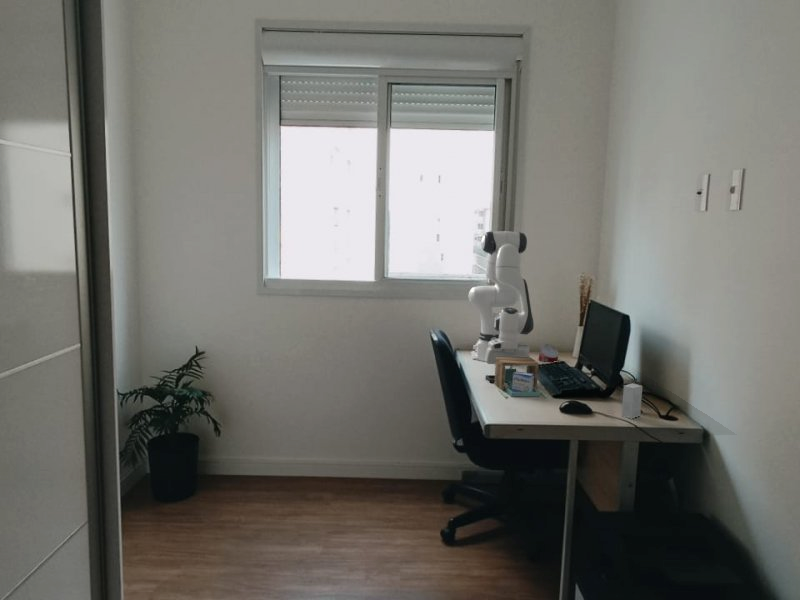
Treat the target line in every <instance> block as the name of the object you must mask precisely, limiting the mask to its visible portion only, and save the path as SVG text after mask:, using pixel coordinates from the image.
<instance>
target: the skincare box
mask: <svg viewBox="0 0 800 600" xmlns="http://www.w3.org/2000/svg"><path fill="white" fill-rule="evenodd" d="M642 395H643V385H641V384H638V383H637V384H636V383H628V384H625V385H623V393H622V405H621V406H622V407H621V417H622V416H625V417H628V418H634V419H636V418H635V417H637V418H639V417H638V416H640V417H641V413H642V412H641V408H642V397H643V396H642ZM625 417H624V418H625ZM628 418H627V419H628Z"/></svg>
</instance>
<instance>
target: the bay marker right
mask: <svg viewBox="0 0 800 600" xmlns="http://www.w3.org/2000/svg"><path fill="white" fill-rule="evenodd" d="M537 390H538V391H539V392H540V395H542V396H543V397H544V398H545V399H548V398H549V396H548V395H547V394H546V393H545V391H543V390H541V389H540V388H537Z"/></svg>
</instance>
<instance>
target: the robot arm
mask: <svg viewBox="0 0 800 600" xmlns="http://www.w3.org/2000/svg"><path fill="white" fill-rule="evenodd" d="M481 237H482V238H481V241H480V245H481V248H482V251H483V252H485V253H487V256H486V263H485V271H484V273H485V276H486V278H487V279H489V280H490V281H491V282H494V285H478V286H472V287H471V289H470V290H469V292H468V301H469V303H470V304H471V305H472V306H473V307H475V309H476V310H477V312H478V314H479V317H480V332H479V335H478V336H479V337H478V338H479V339H478V340H477V342H476V343H475V344H473V345H472V350H471V352H470V355H471V358H472V359H473V360H476V361H481V362H482V361H483V362H485V363H486V364H488V365H495V364H496V357H530V350H531V347H530V345H529V344H528V343H519V335H525V336H527V335H528V334H530V333H532V331H534V326H535V322H534V318H533V314H532V313H533V312H532V307H531V306H532V305H531V300H530V293H529V289H528V288H529V287H528V283H527V281H526V279H525V278H523V276H522V275H521V271H520V265H521V264H520V254H522V253H524V252H526V249H527V246H528V239H527V236H526V234H525V233H523V232H520V231H516V232H515V231H509V230H504V231H502V230H501V231H499V230H497V231H491V230H490V231H486V232H484V234H483V235H482V236H481ZM518 299H519V302H520V308H521V311H520V312H519V310H518V309H516V308H514V307H513V306H515V305H516V304H517V302H518ZM493 308H502V309H501V311H500V312H498V313H496V312H493ZM507 367H508V368H507V369H513V367H514V366H507Z"/></svg>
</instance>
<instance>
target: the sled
mask: <svg viewBox="0 0 800 600" xmlns="http://www.w3.org/2000/svg"><path fill="white" fill-rule="evenodd" d="M515 371H517V368H511V369H508V368H505V379H504V383H507V384H508V385H509V386H505V388H504V391H506V392H507V394H509V395H510V396H511V397H540V396H541V394H540V392H539V391H538V390H537V389H538V388H537V389H535V388H534V387H533V392H512V384H513V373H514V372H515Z"/></svg>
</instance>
